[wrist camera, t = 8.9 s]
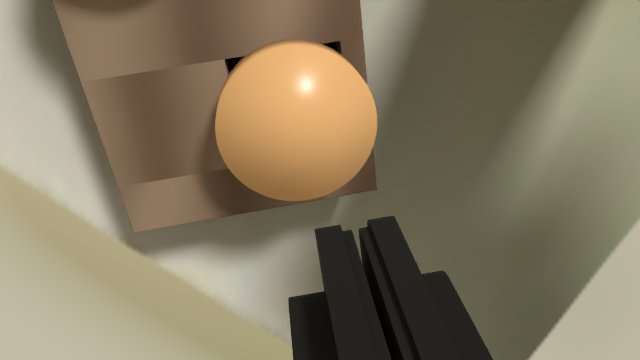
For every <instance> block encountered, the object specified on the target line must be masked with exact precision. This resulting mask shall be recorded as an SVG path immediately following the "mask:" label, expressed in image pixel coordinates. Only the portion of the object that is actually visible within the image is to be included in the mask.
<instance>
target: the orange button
mask: <svg viewBox="0 0 640 360" xmlns="http://www.w3.org/2000/svg"><path fill="white" fill-rule="evenodd" d="M376 133H377V112H376V106H375V102H374V99H373V96H372V94H371V92H370V89H369V87H368V86H367V84H366V83H365V81H364V80H363V78H362V77H361V76H360V74H359V73H358V72H357V70H356V69H355V68H354V67H353V66H352V65H351V63H350V62H349V61H348V60H347V59H346V58H344V57H343V56H342V55H341V54H340V53H338V52H337V51H335V50H334V49H332V48H330V47H328V46H325V45H324V44H320V43H317V42H314V41H309V40H303V39H287V40H280V41H275V42H271V43H269V44H266V45H263V46H261V47H259V48H257V49H255V50H254V51H252V52H250V53H249V54H248V55H246V56H242V57H239V62H238V63H237V64H236V66H235V67H234V68H233V69H232V71H231V72H230V73H229V75H228V77H227V78H226V80H225V82H224V84H223V87H222V89H221V92H220V96H219V100H218V105H217V111H216V119H215V134H216V140H217V145H218V148H219V151H220V154H221V156H222V158H223V160H224V162H225V164H226V165H227V167H228V168H229V170H230V171H231V172H232V173H233V174H234V176H235V177H236V178H237V179H238V180H239V181H241V182H242V183H243V184H244V185H246V186H247V187H248V188H250V189H251V190H253V191H255V192H257V193H259V194H261V195H264V196H267V197H269V198H273V199H278V200H285V201H303V200H310V199H315V198H319V197H322V196H324V195H327V194H329V193H331V192H333V191H335V190H337V189H339V188H340V187H342V186H343V185H345V184H346V183H347V182H349V181H350V180H351V179H352V178H353V177H354V176H355V175H356V174H357V173H358V172H359V171H360V169H361V168H362V167H363V165H364V164H365V162H366V161H367V159H368V157H369V155H370V153H371V151H372V148H373V146H374V142H375V138H376Z"/></svg>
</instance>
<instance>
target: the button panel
mask: <svg viewBox="0 0 640 360" xmlns="http://www.w3.org/2000/svg"><path fill="white" fill-rule="evenodd" d="M52 2H53V5H54V8H55V11H56V13H57V16H58V19H59V22H60V25H61V28H62V30H63V33H64V36H65V39H66V42H67V45H68V47H69V50H70V53H71V56H72V59H73V61H74V64H75V67H76V70H77V73H78V76H79V78H80V81H81V84H82V87H83V90H84V93H85V95H86V98H87V101H88V104H89V107H90V109H91V112H92V115H93V118H94V121H95V124H96V126H97V129H98V132H99V135H100V138H101V141H102V143H103V146H104V149H105V152H106V155H107V157H108V160H109V163H110V166H111V169H112V172H113V174H114V177H115V180H116V183H117V186H118V189H119V191H120V194H121V197H122V200H123V203H124V205H125V208H126V211H127V214H128V217H129V220H130V222H131V225H132V228H133V231H134V233H135V232H141V231H146V230H152V229H157V228H163V227H169V226H174V225H180V224H186V223H191V222H197V221H202V220H208V219H214V218H219V217H225V216H231V215H236V214H242V213H247V212H253V211H259V210H264V209H270V208H276V207H281V206H287V205H293V204H298V203H304V202H309V201H315V200H321V199H326V198H332V197H338V196H343V195H349V194H354V193H360V192H366V191H371V190H377V188H376V177H375V165H374V154H373V148H372V151H371V153H370V155H369V157H368V159H367V161H366V162H365V164H364V165H363V167H362V168H361V169H360V171H359V172H358V173H357V174H356V175H355V176H354V177H353V178H352V179H351V180H350V181H349V182H347V183H346V184H345V185H343V186H342V187H340V188H339V189H337V190H335V191H333V192H331V193H329V194H327V195H324V196H322V197H319V198H315V199H310V200H303V201H285V200H278V199H273V198H269V197H267V196H264V195H261V194H259V193H257V192H255V191H253V190H251V189H250V188H248V187H247V186H246V185H244V184H243V183H242V182H241V181H239V180H238V179H237V178H236V177H235V176H234V174H233V173H232V172H231V171H230V170H229V168H228V167H227V165H226V164H225V162H224V160H223V158H222V156H221V154H220V151H219V148H218V145H217V140H216V134H215V119H216V111H217V105H218V100H219V96H220V92H221V89H222V87H223V84H224V82H225V80H226V78H227V77H228V75H229V73H230V70H229V65H228V61H227V59H229V58H235V57H242V56H246V55H248V54H249V53H250V52H252V51H254V50H255V49H257V48H259V47H261V46H263V45H266V44H269V43H271V42H275V41H280V40H287V39H303V40H309V41H314V42H317V43H320V44H323V43H327V46H328V47H330V48H332V49H334V50H335V51H337V52H338V53H340V54H341V55H342V56H343V57H344V58H346V59H347V60H348V61H349V62H350V63H351V65H352V66H353V67H354V68H355V69H356V70H357V72H358V73H359V74H360V76H361V77H362V78H363V80H364V81H365V83H366V84H367V75H366V64H365V52H364V41H363V30H362V19H361V7H360V0H52Z"/></svg>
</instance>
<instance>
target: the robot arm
mask: <svg viewBox="0 0 640 360" xmlns="http://www.w3.org/2000/svg"><path fill="white" fill-rule="evenodd" d="M367 226H368V227H365V228H359V238H360V247H361V256H362V262H361V259H360V256H359V253H358V249H357V246H356V243H355V240H354V236H353V233H352V230H347V231H342V229H341V226H340V225H336V226H330V227H324V228H318V229H315V234H316V241H317V247H318V253H319V260H320V266H321V272H322V279H323V285H324V292H318V293H312V294H307V295H301V296H295V297H290V298H289V313H290V325H291V337H292V349H293V360H493V359H492V357H491V355H490V353H489V351H488V349H487V348H486V346H485V344H484V342H483V340H482V338H481V336H480V335H479V333H478V331H477V329H476V327H475V325H474V323H473V322H472V320H471V318H470V316H469V314H468V312H467V310H466V309H465V307H464V305H463V303H462V301H461V299H460V298H459V296H458V294H457V292H456V290H455V288H454V286H453V285H452V283H451V281H450V279H449V277H448V276H447V274H446V273H445V272H444V271H438V272H432V273H426V274H421V272H420V270H419V268H418V266H417V264H416V262H415V259H414V257H413V255H412V253H411V251H410V249H409V247H408V244H407V242H406V240H405V238H404V236H403V234H402V232H401V229H400V227H399V225H398V223H397V221H396V219H395V217H394V216H389V217H383V218H377V219H371V220H368V221H367ZM362 265H363V266H362Z"/></svg>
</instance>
